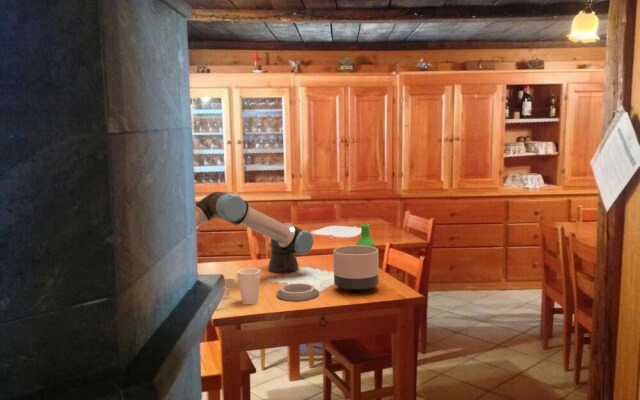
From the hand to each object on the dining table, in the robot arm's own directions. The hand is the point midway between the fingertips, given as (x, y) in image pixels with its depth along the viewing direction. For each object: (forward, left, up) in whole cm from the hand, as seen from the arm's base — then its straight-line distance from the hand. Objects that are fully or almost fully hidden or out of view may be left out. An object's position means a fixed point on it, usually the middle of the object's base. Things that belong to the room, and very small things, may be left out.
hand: (231, 286), depth 219 cm
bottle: (+10, +68, -7) cm, 69 cm away
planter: (+23, +49, -7) cm, 54 cm away
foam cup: (+5, +6, -7) cm, 10 cm away
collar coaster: (+11, +26, -7) cm, 29 cm away
